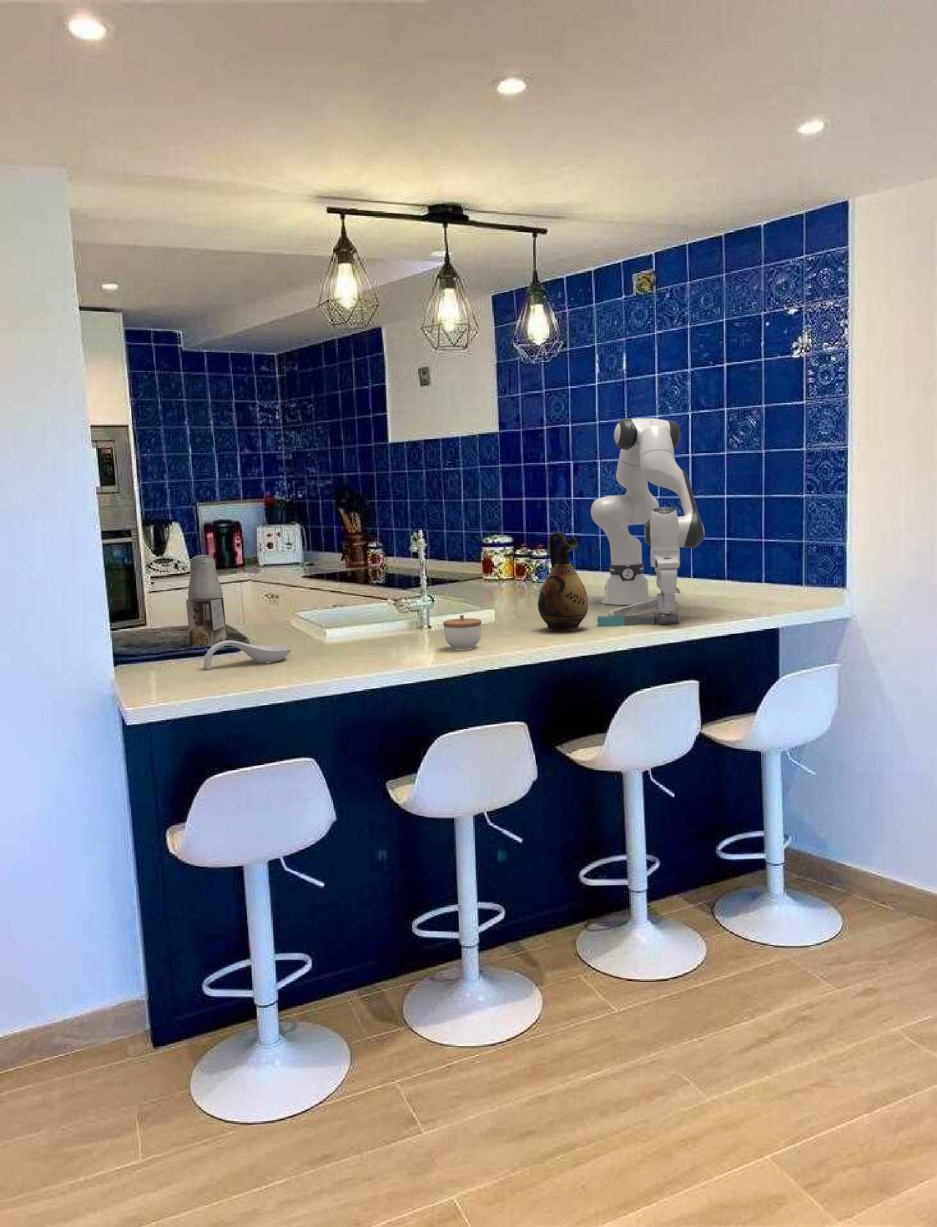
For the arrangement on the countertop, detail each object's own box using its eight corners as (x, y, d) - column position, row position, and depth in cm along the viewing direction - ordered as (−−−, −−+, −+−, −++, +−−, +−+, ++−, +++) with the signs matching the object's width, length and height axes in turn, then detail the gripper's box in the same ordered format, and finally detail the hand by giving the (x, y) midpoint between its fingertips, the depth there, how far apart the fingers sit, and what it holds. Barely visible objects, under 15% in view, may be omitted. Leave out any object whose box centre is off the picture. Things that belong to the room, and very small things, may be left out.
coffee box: (229, 651, 285) (224, 597, 283) (215, 655, 279) (210, 600, 277) (203, 650, 288) (199, 597, 286) (190, 654, 282) (185, 600, 280)
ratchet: (597, 623, 303) (596, 604, 302) (677, 620, 301) (677, 601, 300) (598, 627, 295) (597, 608, 294) (681, 624, 293) (680, 605, 292)
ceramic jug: (599, 629, 291) (596, 530, 287) (556, 635, 284) (553, 534, 280) (567, 623, 306) (564, 529, 302) (526, 629, 299) (522, 532, 295)
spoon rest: (284, 656, 273) (282, 631, 272) (297, 661, 263) (295, 636, 262) (200, 667, 262) (198, 641, 261) (210, 673, 252) (208, 646, 251)
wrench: (609, 628, 313) (679, 607, 326) (612, 628, 311) (682, 608, 325) (606, 604, 311) (676, 584, 325) (609, 604, 310) (680, 585, 323)
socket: (657, 609, 299) (656, 593, 299) (673, 608, 299) (673, 592, 298) (658, 611, 294) (658, 595, 294) (675, 611, 294) (675, 594, 293)
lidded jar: (485, 644, 274) (483, 612, 273) (478, 651, 264) (477, 617, 263) (448, 645, 276) (447, 613, 275) (440, 651, 266) (439, 618, 265)
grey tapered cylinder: (201, 641, 307) (193, 553, 303) (231, 640, 305) (224, 552, 302) (187, 646, 298) (179, 556, 294) (218, 646, 296) (210, 555, 292)
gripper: (651, 558, 305) (652, 601, 307) (658, 563, 285) (659, 609, 287) (671, 557, 304) (672, 600, 306) (679, 562, 284) (680, 609, 286)
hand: (666, 605), depth 296 cm, fingers closed on socket, 5 cm apart
